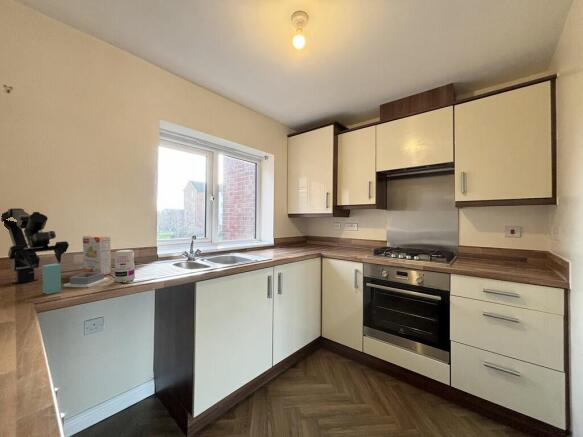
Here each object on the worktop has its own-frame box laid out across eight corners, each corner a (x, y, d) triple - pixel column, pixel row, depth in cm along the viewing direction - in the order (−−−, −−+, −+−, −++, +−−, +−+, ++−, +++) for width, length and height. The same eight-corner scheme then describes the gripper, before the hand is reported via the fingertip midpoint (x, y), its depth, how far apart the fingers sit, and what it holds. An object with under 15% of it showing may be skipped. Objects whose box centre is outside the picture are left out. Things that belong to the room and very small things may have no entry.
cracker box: (83, 273, 138) (82, 235, 137) (95, 271, 143) (94, 234, 142) (100, 276, 133) (98, 237, 132) (111, 273, 138) (110, 235, 137)
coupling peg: (43, 293, 107) (42, 265, 106) (56, 290, 110) (55, 263, 110) (47, 295, 104) (46, 266, 104) (61, 292, 108) (60, 264, 108)
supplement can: (131, 277, 131) (130, 248, 131) (137, 280, 126) (136, 250, 126) (112, 280, 125) (112, 250, 125) (118, 284, 120) (117, 252, 119)
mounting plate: (63, 286, 115) (63, 278, 115) (86, 279, 127) (86, 271, 127) (88, 287, 115) (88, 278, 114) (109, 279, 127) (109, 272, 126)
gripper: (8, 226, 103) (19, 256, 98) (66, 224, 120) (78, 249, 115) (3, 244, 107) (13, 273, 102) (60, 239, 124) (70, 264, 119)
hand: (46, 264), depth 109 cm, fingers open, 9 cm apart
